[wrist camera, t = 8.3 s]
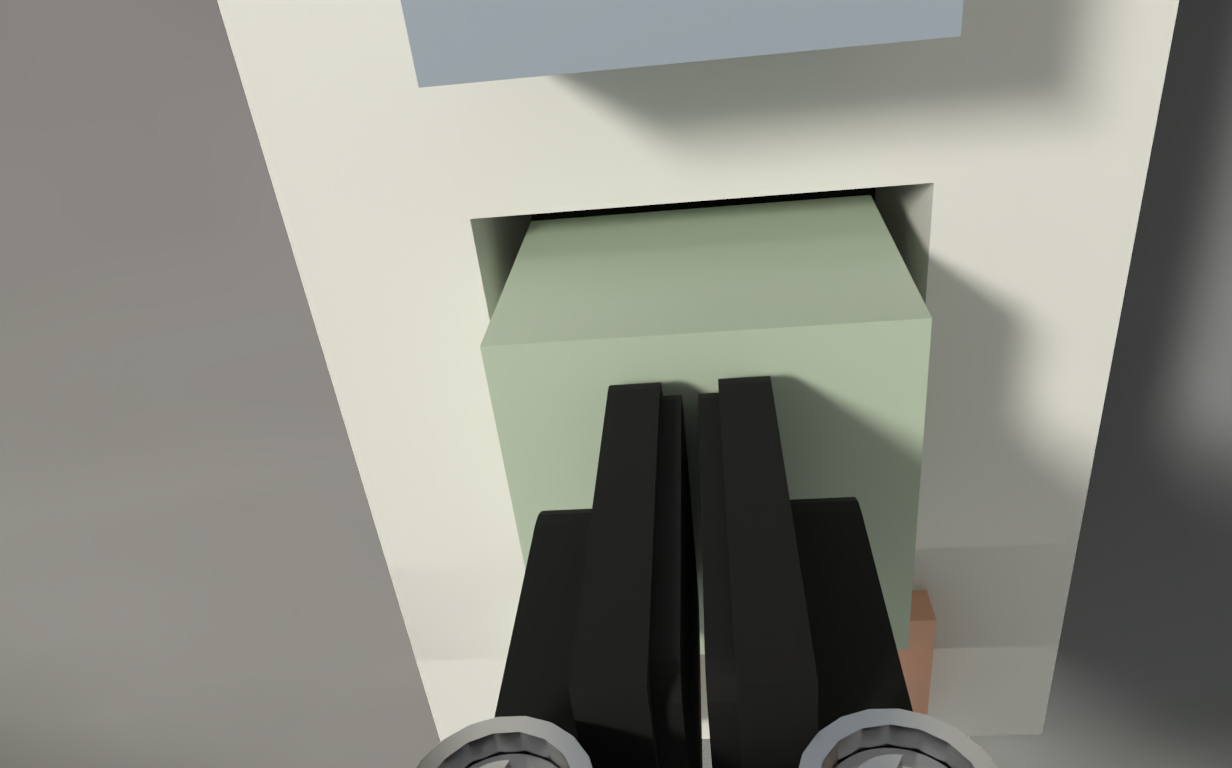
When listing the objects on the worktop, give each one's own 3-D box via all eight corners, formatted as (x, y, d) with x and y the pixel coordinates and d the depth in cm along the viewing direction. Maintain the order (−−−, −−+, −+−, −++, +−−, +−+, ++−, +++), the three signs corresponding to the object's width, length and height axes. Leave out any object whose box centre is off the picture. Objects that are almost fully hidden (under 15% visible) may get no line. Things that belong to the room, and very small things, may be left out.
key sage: (870, 195, 12) (931, 317, 9) (860, 474, 14) (907, 649, 11) (531, 221, 12) (480, 347, 9) (573, 487, 14) (543, 657, 12)
